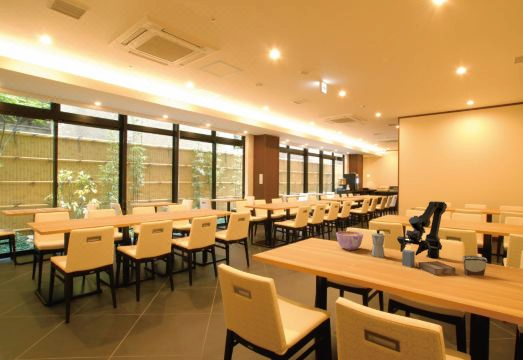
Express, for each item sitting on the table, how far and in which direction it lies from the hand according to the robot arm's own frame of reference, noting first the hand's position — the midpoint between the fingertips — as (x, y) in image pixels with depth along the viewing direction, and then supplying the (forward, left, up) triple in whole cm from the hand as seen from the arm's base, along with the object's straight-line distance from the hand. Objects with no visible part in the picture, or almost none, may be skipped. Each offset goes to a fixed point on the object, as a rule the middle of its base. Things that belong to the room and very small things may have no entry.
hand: (408, 253), depth 178 cm
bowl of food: (+15, -46, -8) cm, 49 cm away
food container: (-25, +20, -8) cm, 33 cm away
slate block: (0, 0, -8) cm, 8 cm away
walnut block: (-9, +12, -8) cm, 17 cm away
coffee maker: (+5, -24, -8) cm, 26 cm away
